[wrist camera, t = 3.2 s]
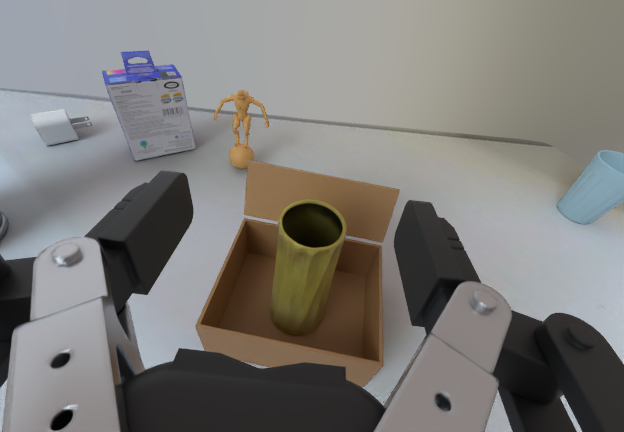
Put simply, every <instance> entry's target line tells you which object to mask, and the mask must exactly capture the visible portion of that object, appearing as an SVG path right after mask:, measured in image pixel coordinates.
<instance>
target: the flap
mask: <svg viewBox="0 0 624 432" xmlns="http://www.w3.org/2000/svg"><path fill="white" fill-rule="evenodd" d="M399 191H400V190H399V189H394V188H389V187H384V186H379V185H374V184H369V183H364V182H359V181H354V180H348V179H343V178H338V177H333V176H328V175H323V174H318V173H313V172H308V171H303V170H298V169H292V168H287V167H282V166H277V165H272V164H267V163H262V162H257V161H252V160H248V167H247V181H246V195H245V209H244V215H249V216H254V217H259V218H264V219H269V220H274V221H279V217H280V215H281V213H282V211H283V210H284V209H285V208H286V207H287V206H289V205H290V204H292V203H294V202H297V201H301V200H308V199H310V200H318V201H322V202H325V203H327V204H329V205H331V206H333V207H334V208H335V209H337V210H338V211H339V212H340V213H341V215H342V216H343V218H344V220H345V222H346V226H347V231H346V234H345V235H348V236H353V237H358V238H363V239H368V240H373V241H378V242H383V241H384V238H385V235H386V231H387V228H388V225H389V222H390V219H391V216H392V213H393V210H394V207H395V204H396V201H397V197H398V194H399Z"/></svg>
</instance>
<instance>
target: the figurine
mask: <svg viewBox="0 0 624 432" xmlns="http://www.w3.org/2000/svg"><path fill="white" fill-rule="evenodd" d="M232 100H234V102H235V106H236V108H237V110H238V115H237V114H236V113H234V114H233V118H234V120H233V131H234V133H235V134H236V143H235V146H233V147H232V148H231V150H230V152H229V159H230V162H231V163H232V164H233V165H234V166H235V167H237V168H240V169H244V168H247V167H248V160H252V161H254V153H253V151H252V149H251V148H250V147H249V146H248V135H249V129H250V121H251V116H250V115H248V116H247V110H248V107H249V104H250V103H253V104H255V105H257V106H259V107H261V109H262V112H263V115H264V118H265V120H266V122H265V124H266V128H267V126H268V127H269V121H268V118H267V115H266V112H265V108H264V106H263V105H262V104H261V103H260V102H258V101H257V100H255V99H254V98H253V97H251V96H249V94H248V93H247V92H246V91H244V90H240V91H238V93H237V94H233V95H231V96H230V97H226V98H224V99H222V100H221V102H220V105H219V107H218V108H217V110H216V113H215V116H214V121H216V117H217V114H218V113H219V111H220V110H221V107H222V106H223V103H224V102H229V101H232ZM240 120H241V121H243V120H244V121H243V127H244V129H245V135H246V136H245V143H244V144H239V131H238V130H237V128H238V127H239V126H240Z"/></svg>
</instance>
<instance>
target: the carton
mask: <svg viewBox="0 0 624 432" xmlns="http://www.w3.org/2000/svg"><path fill="white" fill-rule="evenodd" d="M277 243H278V225H276V224H271V223H266V222H261V221H256V220H251V219H246V218H244V220H243V222H242V224H241V226H240V229H239V231H238V233H237V235H236V237H235V240H234V242H233V244H232V246H231V249H230V251H229V253H228V255H227V257H226V260H225V262H224V264H223V266H222V268H221V271H220V273H219V275H218V277H217V280H216V282H215V284H214V286H213V288H212V291H211V293H210V295H209V297H208V300H207V302H206V304H205V306H204V308H203V311H202V313H201V315H200V317H199V319H198V322H197V324H196V326H195V327H196V330H197V332H198V335H199V337H200V340H201V342H202V345H203V347H204V349H205V351H208V352H217V353H222V354H224V355H227V356H229V357H231V358H234V359H236V360H240V361H244V362H249V363H254V364H258V365H263V366H268V367H278V366H284V365H291V364H297V363H303V362H307V363H316V364H325V365H334V366H343V367H346V380H348V381H351V382H353V383H355V384H357V385H358V386H362V387H364V386H365V385H366V384H367V383H368V382H369V381H370V380H371V379H372V377H373V376H374V375H375V374H376V373H377V372H378V371H379V370H380V369H381V368H382V367H383V326H382V246H380V245H375V244H370V243H365V242H360V241H355V240H350V239H345V238H344V242H343V245H342V248H341V251H340V255H339V258H338V261H337V265H336V268H335V271H334V274H333V278H332V282H331V286H330V290H329V294H328V298H327V302H326V306H325V314H324V318H323V320H322V322H321V324H320V325H319V326H318V327H317V328H316V329H315V330H314V331H312V332H310V333H308V334H305V335H291V334H287V333H285V332H283V331H282V330H281V329H279V328H278V327H277V326H276V325H275V324H274V322H273V320H272V318H271V315H270V302H271V297H272V287H273V280H274V272H275V262H276V254H277Z"/></svg>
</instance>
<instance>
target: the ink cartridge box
mask: <svg viewBox="0 0 624 432" xmlns="http://www.w3.org/2000/svg"><path fill="white" fill-rule="evenodd" d="M121 55H122V58H123V62H124V66H125V69H120V70H110V71H102V73H103V78H104V81H105V85H106V88H107V91H108V93H109V96H110V99H111V101H112V104H113V106H114V109H115V112H116V114H117V117H118V119H119V122H120V124H121V127H122V129H123V132H124V134H125V137H126V139H127V142H128V144H129V147H130V150H131V153H132V155H133V159H134V160H135V161H137V160H142V159H147V158H152V157H157V156H162V155H166V154H172V153H177V152H182V151H186V150H191V149H195V148H196V147H195V142H194V137H193V132H192V127H191V122H190V117H189V113H188V108H187V102H186V97H185V91H184V86H183V81H182V77H181V75H180V74H179V72H178V71H177V69H176V68H175V67H174V65H172V64H171V65H160V66H154V64H153V61H152V58H151V56H150V53H149V51H134V52H121ZM134 57H142V58H146V59H147V60H148V62H147V63H137V64H129V63H128V59H130V58H134Z"/></svg>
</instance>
